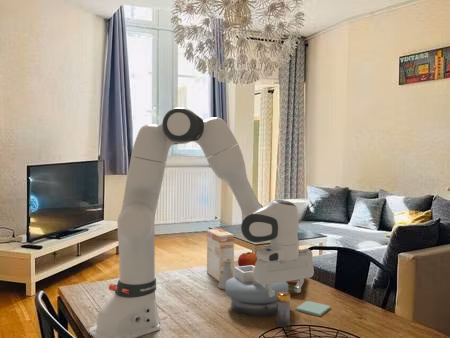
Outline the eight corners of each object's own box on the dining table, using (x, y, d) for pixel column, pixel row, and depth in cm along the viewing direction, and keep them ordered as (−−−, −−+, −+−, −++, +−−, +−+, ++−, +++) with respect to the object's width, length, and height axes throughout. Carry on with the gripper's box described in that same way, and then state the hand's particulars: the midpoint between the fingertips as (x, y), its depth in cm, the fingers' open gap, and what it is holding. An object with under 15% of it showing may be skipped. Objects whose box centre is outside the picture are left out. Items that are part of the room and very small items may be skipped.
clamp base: (265, 321, 144) (265, 306, 143) (220, 308, 154) (221, 294, 154) (291, 305, 158) (291, 291, 158) (249, 294, 169) (249, 281, 168)
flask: (234, 290, 173) (234, 265, 173) (216, 289, 175) (216, 264, 174) (237, 285, 180) (237, 261, 180) (219, 283, 182) (220, 259, 181)
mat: (319, 316, 148) (319, 314, 148) (295, 310, 153) (295, 307, 153) (330, 308, 155) (330, 306, 155) (307, 302, 160) (307, 300, 160)
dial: (300, 297, 150) (300, 271, 150) (242, 307, 141) (242, 279, 141) (268, 279, 170) (268, 256, 170) (216, 286, 162) (216, 262, 161)
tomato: (260, 271, 199) (261, 254, 199) (241, 273, 197) (241, 255, 196) (253, 266, 208) (254, 249, 208) (235, 267, 206) (235, 250, 205)
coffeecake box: (234, 280, 186) (234, 234, 185) (218, 282, 184) (219, 235, 183) (221, 270, 200) (221, 228, 199) (206, 272, 198) (206, 229, 196)
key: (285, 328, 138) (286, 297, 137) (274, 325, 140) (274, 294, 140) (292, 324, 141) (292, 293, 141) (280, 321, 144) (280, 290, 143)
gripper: (306, 245, 147) (306, 286, 148) (251, 252, 138) (252, 295, 139) (317, 249, 141) (317, 292, 142) (261, 257, 133) (261, 302, 133)
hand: (284, 294), depth 140 cm, fingers open, 8 cm apart
